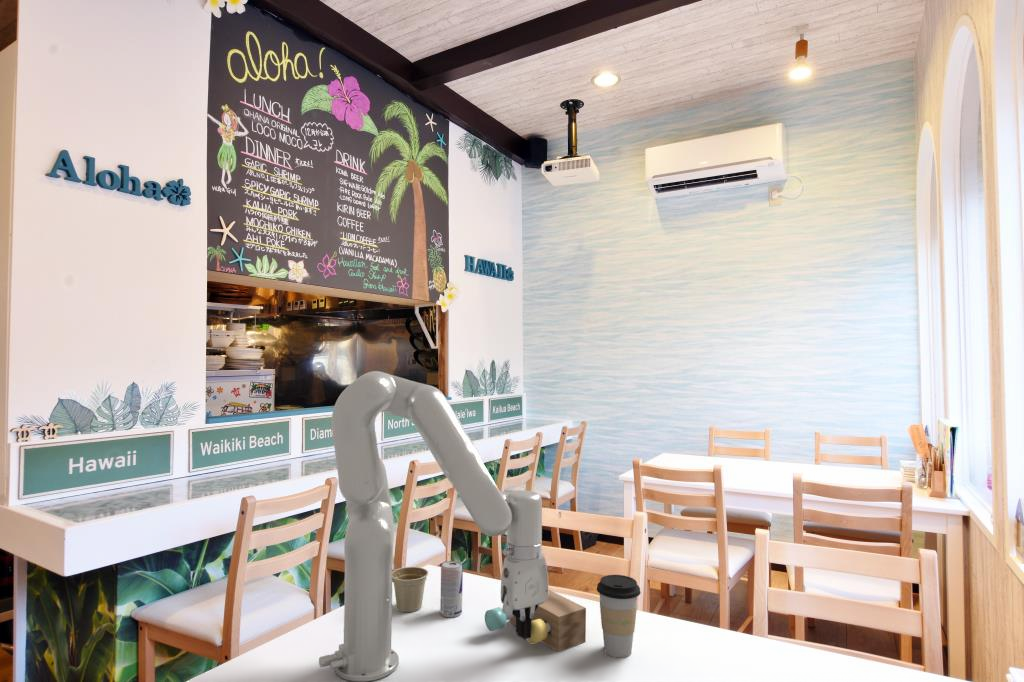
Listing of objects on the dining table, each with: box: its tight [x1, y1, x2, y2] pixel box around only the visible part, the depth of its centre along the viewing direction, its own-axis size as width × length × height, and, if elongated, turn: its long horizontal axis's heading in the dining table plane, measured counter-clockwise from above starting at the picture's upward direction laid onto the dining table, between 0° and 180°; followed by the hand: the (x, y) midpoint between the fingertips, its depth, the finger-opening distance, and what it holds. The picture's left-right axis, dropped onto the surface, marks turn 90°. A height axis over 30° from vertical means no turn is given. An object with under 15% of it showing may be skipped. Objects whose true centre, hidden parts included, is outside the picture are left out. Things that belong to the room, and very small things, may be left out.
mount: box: [508, 589, 587, 653], centre depth 139 cm, size 8×18×8 cm, turn 37°
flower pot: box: [392, 566, 429, 613], centre depth 151 cm, size 9×9×9 cm
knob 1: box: [484, 606, 515, 632], centre depth 139 cm, size 11×4×4 cm, turn 127°
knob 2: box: [526, 619, 551, 645], centre depth 133 cm, size 11×4×4 cm, turn 127°
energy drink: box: [439, 560, 464, 619], centre depth 148 cm, size 5×5×12 cm
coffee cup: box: [596, 574, 642, 658], centre depth 130 cm, size 9×9×15 cm
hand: (523, 636), depth 129 cm, fingers closed
